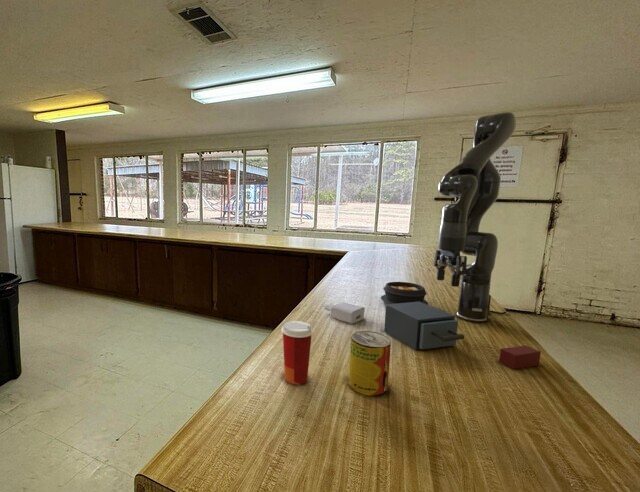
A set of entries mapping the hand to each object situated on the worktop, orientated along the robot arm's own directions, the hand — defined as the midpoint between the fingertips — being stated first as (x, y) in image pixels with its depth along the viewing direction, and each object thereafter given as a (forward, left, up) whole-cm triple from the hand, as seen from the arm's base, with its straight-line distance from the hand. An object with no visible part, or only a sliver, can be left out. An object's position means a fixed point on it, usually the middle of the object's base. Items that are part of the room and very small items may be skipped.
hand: (447, 283), depth 109 cm
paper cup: (+61, +16, -17) cm, 66 cm away
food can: (+45, +23, -17) cm, 54 cm away
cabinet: (+13, +3, -17) cm, 22 cm away
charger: (+27, -21, -17) cm, 39 cm away
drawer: (+13, +8, -16) cm, 22 cm away
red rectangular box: (-2, +24, -17) cm, 29 cm away
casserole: (-7, -27, -17) cm, 33 cm away
